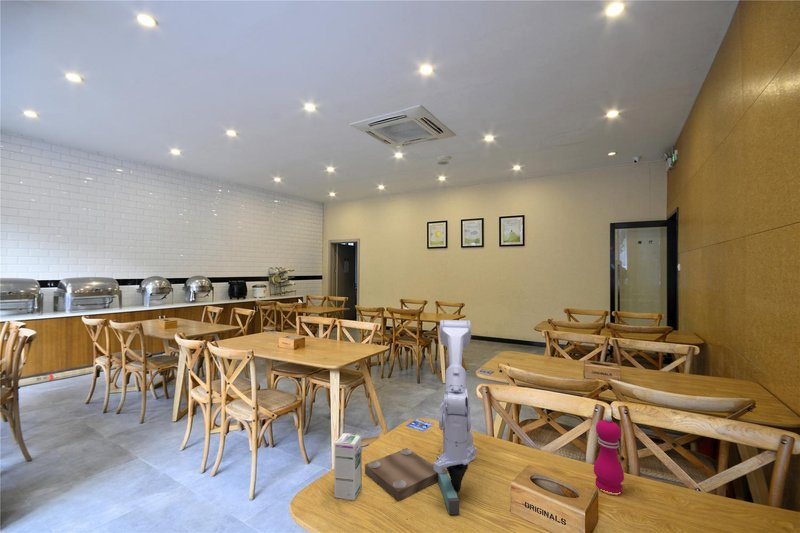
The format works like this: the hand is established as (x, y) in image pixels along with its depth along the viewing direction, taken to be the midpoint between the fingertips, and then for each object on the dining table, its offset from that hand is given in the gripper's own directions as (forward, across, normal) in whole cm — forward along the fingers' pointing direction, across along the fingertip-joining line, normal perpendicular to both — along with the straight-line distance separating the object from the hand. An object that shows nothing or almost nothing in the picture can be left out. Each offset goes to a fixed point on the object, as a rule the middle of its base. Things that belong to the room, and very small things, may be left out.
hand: (455, 490), depth 91 cm
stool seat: (+2, -5, +16) cm, 17 cm away
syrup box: (+2, -22, +19) cm, 29 cm away
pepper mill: (+2, +36, -24) cm, 43 cm away
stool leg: (+1, -2, +1) cm, 3 cm away
